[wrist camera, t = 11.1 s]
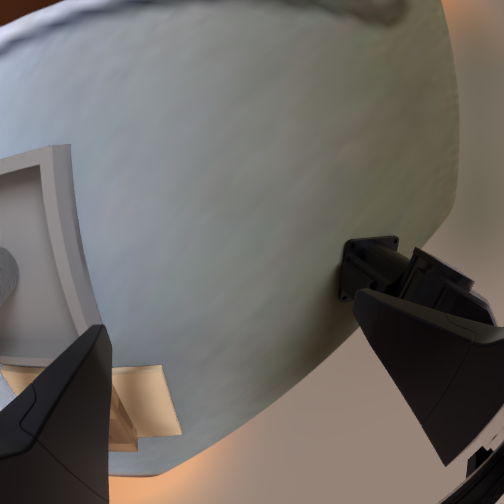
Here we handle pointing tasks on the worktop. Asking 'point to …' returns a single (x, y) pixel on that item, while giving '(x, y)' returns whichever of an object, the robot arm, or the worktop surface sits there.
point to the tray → (43, 258)
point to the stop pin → (7, 274)
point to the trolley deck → (124, 403)
